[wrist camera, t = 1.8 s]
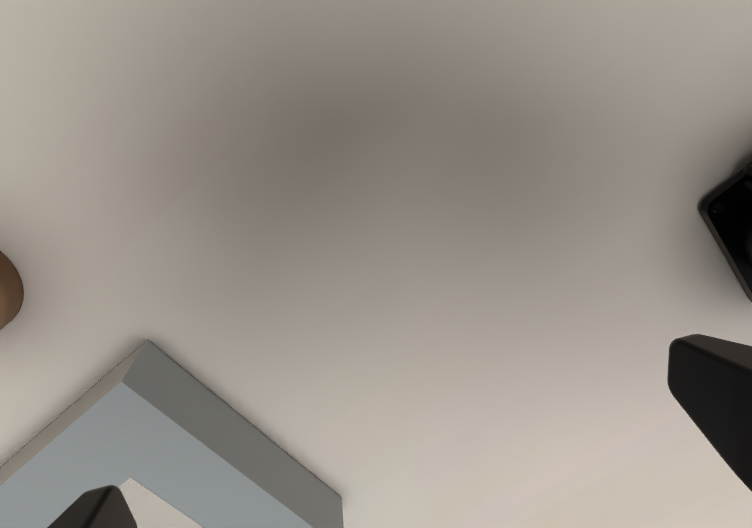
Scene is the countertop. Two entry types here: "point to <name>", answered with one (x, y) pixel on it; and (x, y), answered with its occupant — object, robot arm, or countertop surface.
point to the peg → (9, 291)
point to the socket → (163, 456)
